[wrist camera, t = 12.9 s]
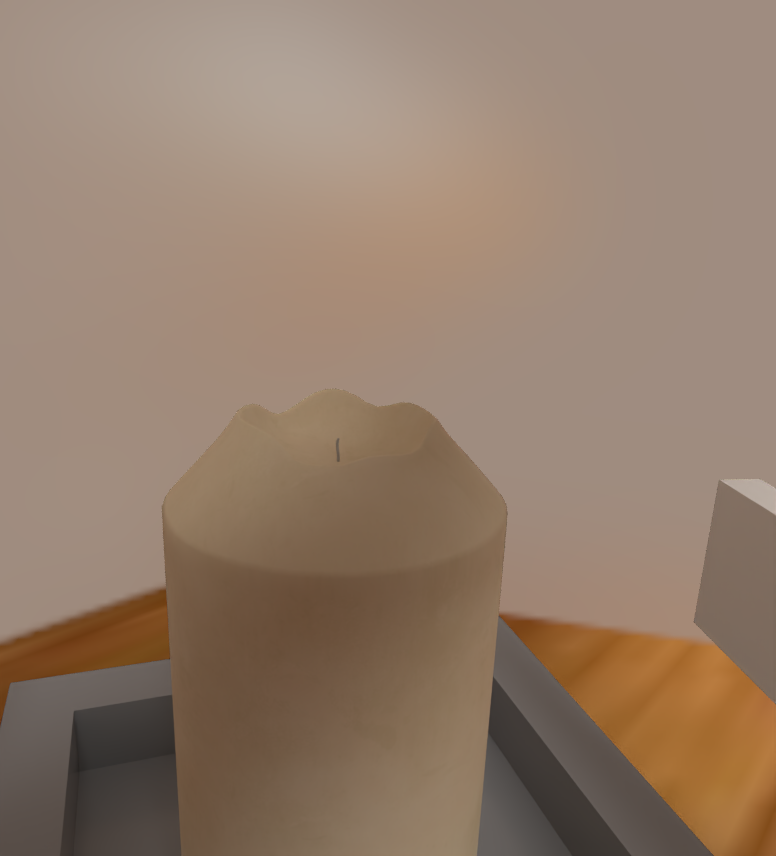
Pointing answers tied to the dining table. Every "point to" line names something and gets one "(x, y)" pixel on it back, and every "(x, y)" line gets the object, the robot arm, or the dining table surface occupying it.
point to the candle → (332, 633)
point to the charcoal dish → (158, 792)
